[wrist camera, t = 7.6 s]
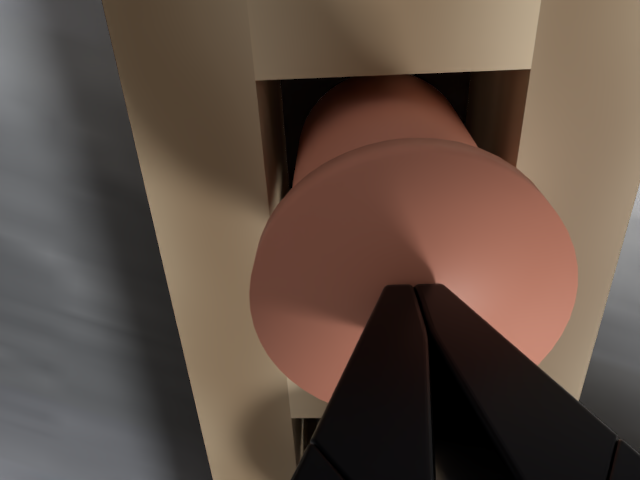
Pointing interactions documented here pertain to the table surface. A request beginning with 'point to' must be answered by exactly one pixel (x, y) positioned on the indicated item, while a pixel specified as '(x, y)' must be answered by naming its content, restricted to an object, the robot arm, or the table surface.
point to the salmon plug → (402, 231)
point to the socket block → (272, 169)
